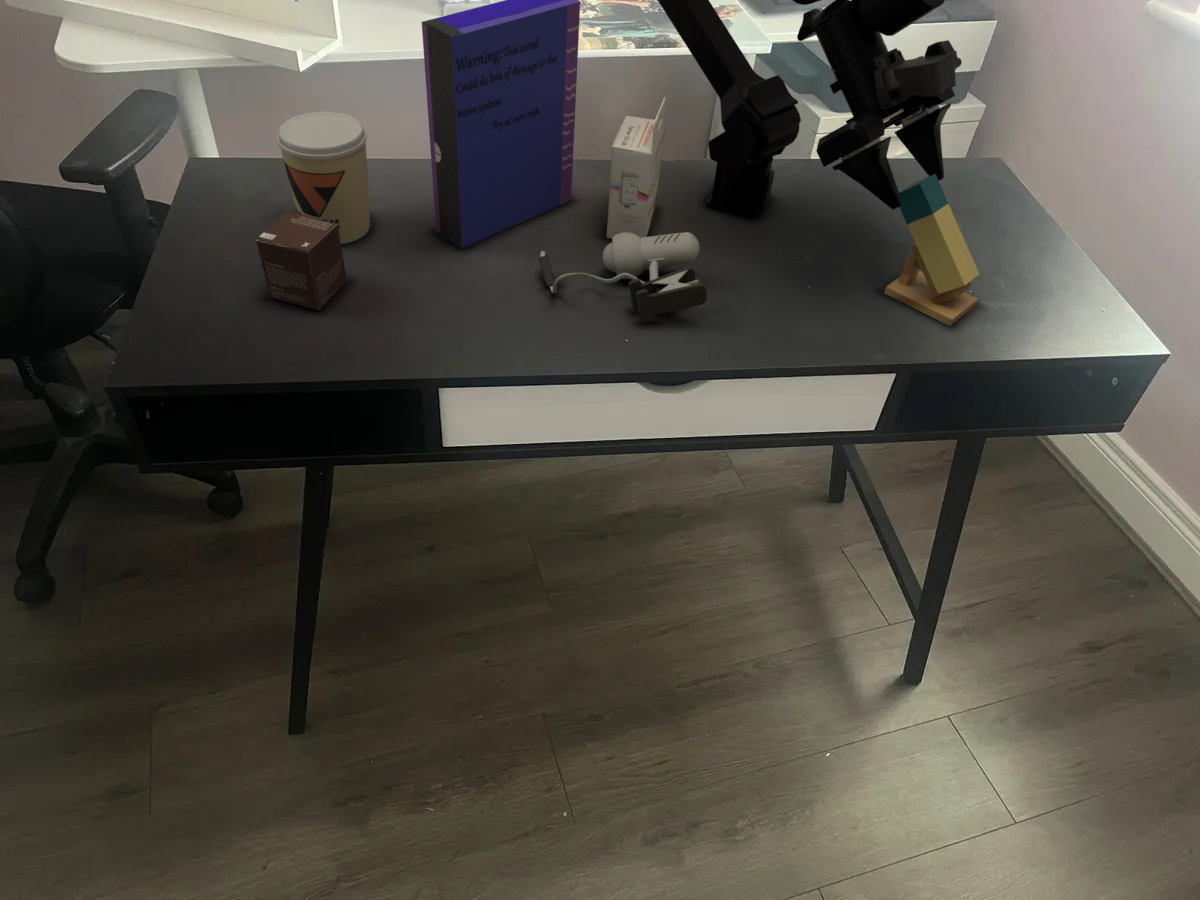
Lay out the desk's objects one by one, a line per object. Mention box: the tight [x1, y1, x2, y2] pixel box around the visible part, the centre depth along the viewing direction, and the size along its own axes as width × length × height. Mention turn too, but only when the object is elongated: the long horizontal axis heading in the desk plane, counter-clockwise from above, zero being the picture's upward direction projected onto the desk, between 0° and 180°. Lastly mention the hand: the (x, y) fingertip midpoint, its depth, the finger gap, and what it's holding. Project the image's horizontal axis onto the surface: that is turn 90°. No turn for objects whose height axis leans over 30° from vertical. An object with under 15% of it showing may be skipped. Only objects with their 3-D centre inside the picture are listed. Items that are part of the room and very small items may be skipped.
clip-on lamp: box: [538, 231, 708, 324], centre depth 99 cm, size 12×6×18 cm
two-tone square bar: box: [898, 174, 980, 294], centre depth 99 cm, size 11×3×11 cm, turn 46°
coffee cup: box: [276, 111, 371, 245], centre depth 102 cm, size 9×9×12 cm
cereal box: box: [421, 0, 581, 250], centre depth 102 cm, size 17×5×24 cm, turn 135°
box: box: [255, 211, 348, 311], centre depth 95 cm, size 6×6×7 cm
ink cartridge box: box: [605, 96, 667, 240], centre depth 106 cm, size 9×5×15 cm, turn 168°
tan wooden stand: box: [884, 242, 978, 327], centre depth 101 cm, size 8×6×6 cm
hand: (919, 193), depth 98 cm, fingers open, 9 cm apart
